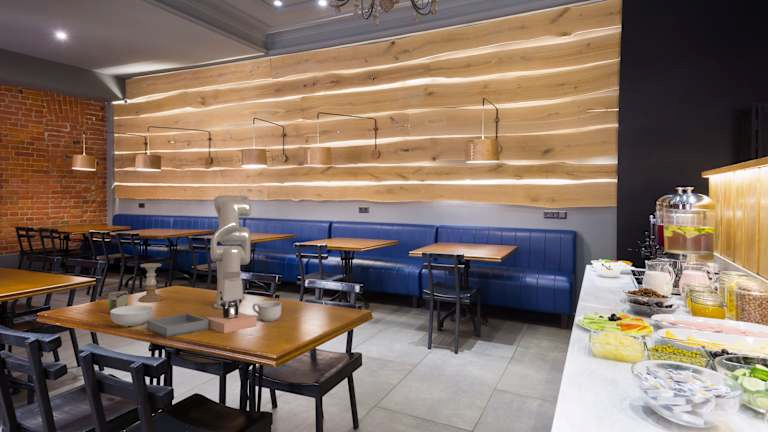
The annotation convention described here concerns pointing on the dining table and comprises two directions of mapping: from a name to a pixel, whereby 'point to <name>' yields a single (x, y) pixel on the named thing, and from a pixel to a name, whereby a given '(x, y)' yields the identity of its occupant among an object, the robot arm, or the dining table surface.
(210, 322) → the hitch block
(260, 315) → the teacup
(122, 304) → the food container
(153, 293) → the candle holder
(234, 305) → the pin
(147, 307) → the cereal bowl
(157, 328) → the tray
